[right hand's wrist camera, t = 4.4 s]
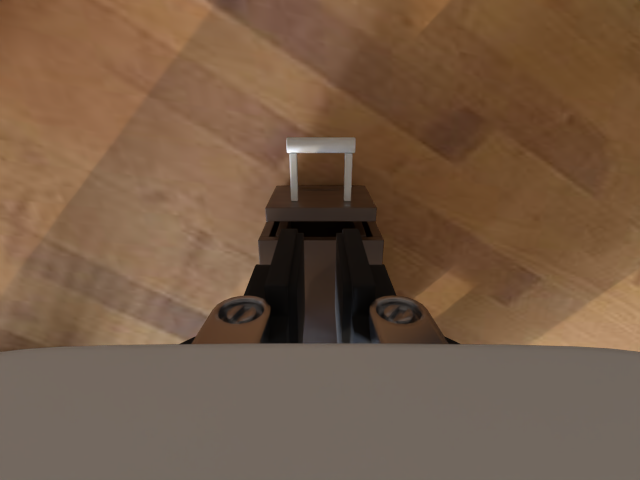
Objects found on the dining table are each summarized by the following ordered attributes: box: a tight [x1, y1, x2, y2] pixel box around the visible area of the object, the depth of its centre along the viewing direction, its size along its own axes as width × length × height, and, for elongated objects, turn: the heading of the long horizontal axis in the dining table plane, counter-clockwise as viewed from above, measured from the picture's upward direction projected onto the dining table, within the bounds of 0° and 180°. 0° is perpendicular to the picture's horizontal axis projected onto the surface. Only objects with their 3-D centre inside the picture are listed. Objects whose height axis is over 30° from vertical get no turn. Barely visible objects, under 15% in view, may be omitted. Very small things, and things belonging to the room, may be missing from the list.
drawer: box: [265, 137, 377, 237], centre depth 35 cm, size 22×9×8 cm, turn 0°
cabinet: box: [258, 221, 384, 344], centre depth 37 cm, size 18×10×10 cm, turn 0°
